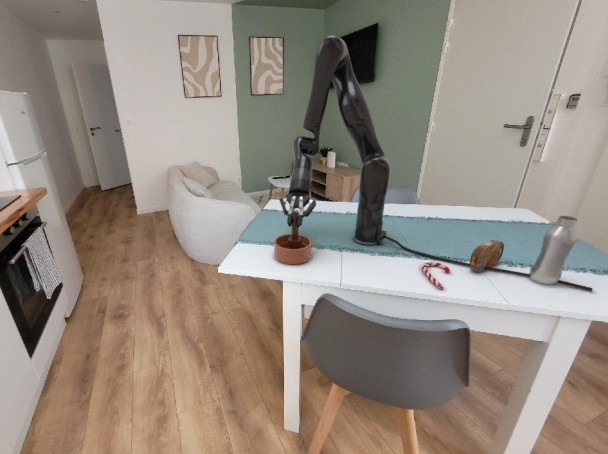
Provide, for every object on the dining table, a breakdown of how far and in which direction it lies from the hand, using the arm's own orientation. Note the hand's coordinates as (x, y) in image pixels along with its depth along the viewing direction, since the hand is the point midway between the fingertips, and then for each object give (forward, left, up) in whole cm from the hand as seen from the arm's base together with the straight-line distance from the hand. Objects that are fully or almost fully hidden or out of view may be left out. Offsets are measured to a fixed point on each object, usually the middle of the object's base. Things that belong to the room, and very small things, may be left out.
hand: (294, 225), depth 101 cm
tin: (-60, -9, -13) cm, 62 cm away
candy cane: (-45, +1, -13) cm, 47 cm away
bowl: (+1, -1, -12) cm, 12 cm away
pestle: (0, -2, -10) cm, 10 cm away
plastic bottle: (-73, -4, -13) cm, 75 cm away
